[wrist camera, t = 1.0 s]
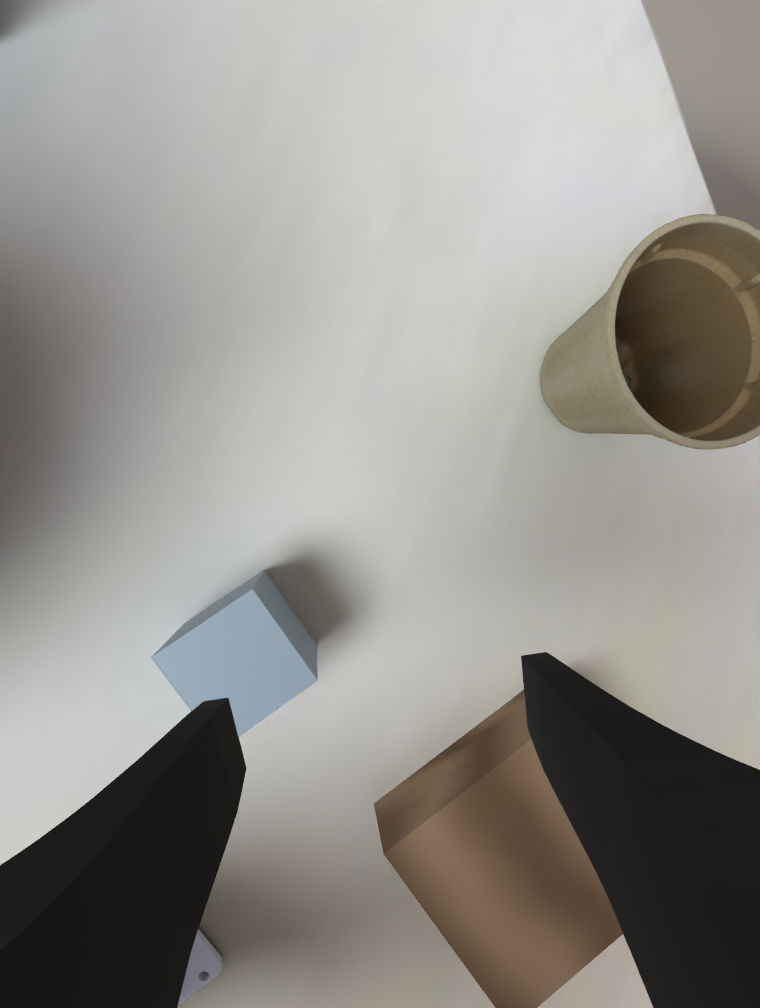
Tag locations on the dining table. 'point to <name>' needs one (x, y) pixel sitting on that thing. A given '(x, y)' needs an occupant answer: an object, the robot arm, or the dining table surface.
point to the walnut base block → (498, 862)
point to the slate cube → (242, 653)
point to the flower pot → (669, 341)
